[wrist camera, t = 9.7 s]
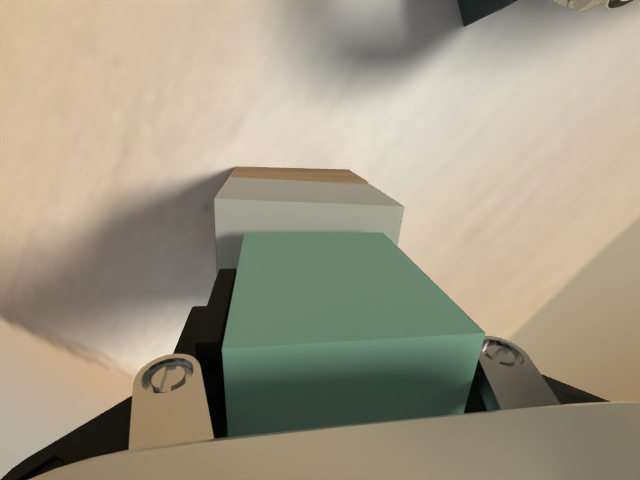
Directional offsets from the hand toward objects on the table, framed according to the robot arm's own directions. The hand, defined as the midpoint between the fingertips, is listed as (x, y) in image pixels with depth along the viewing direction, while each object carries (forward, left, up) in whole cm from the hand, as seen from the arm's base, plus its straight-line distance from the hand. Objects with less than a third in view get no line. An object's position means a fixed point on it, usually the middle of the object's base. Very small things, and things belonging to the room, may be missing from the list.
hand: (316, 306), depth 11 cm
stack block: (0, 0, -1) cm, 1 cm away
